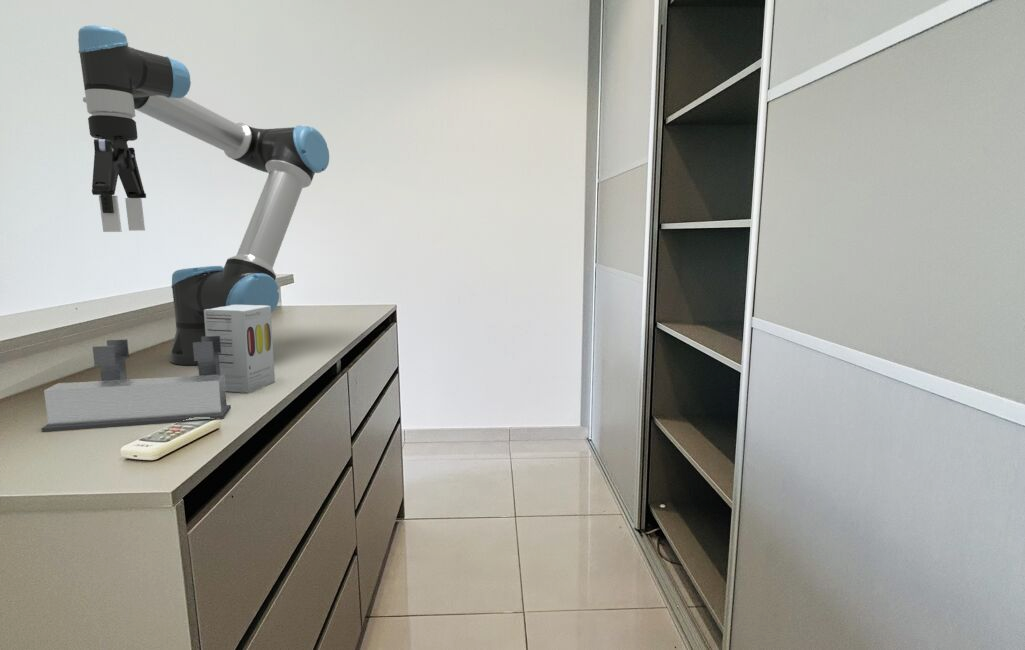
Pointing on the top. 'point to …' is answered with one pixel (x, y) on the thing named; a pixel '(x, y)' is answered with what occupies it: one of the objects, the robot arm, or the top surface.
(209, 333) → the supplement box
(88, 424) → the mat
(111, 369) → the standards
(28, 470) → the top surface
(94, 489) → the top surface
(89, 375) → the top surface
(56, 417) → the rail
